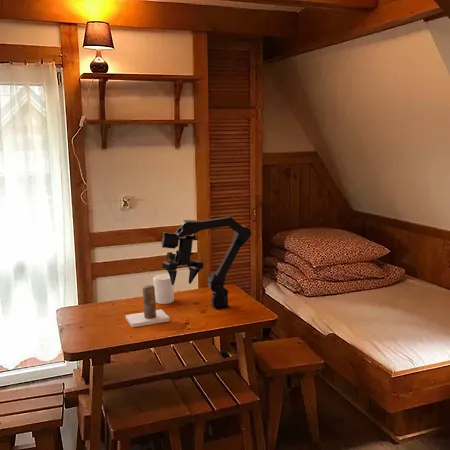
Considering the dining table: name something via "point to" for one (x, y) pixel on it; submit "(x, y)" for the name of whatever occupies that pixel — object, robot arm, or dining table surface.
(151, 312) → the walnut roller
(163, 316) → the stone slab
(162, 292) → the white cylinder
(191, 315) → the dining table surface
